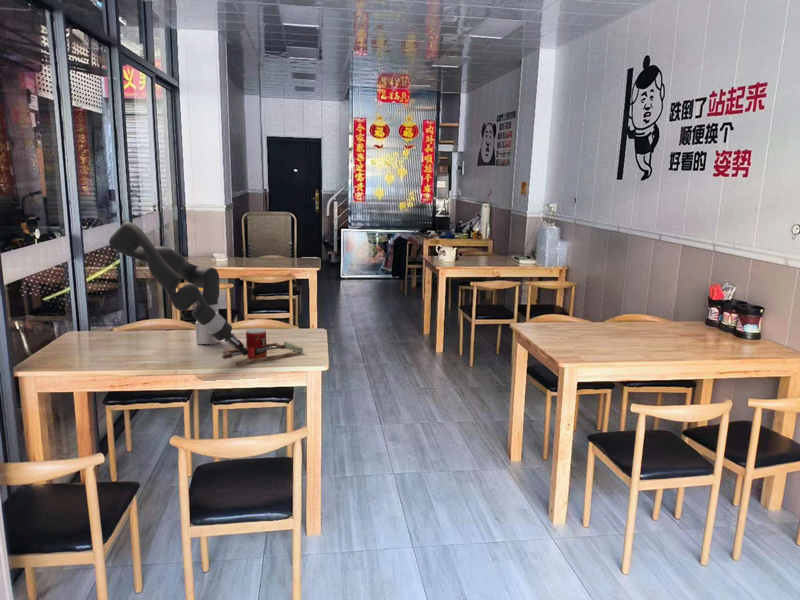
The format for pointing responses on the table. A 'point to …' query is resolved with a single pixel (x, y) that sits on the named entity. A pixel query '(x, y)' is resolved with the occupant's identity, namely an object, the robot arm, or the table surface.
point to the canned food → (256, 343)
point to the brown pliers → (286, 344)
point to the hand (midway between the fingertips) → (246, 353)
